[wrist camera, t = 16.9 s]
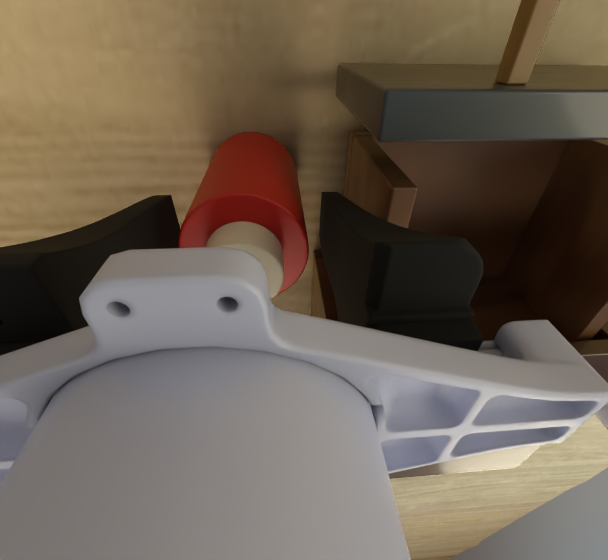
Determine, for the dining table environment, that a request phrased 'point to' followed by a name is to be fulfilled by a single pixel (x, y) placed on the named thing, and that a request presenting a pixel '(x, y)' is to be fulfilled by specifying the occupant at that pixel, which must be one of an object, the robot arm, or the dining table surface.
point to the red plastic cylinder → (252, 208)
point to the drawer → (495, 171)
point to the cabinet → (597, 352)
